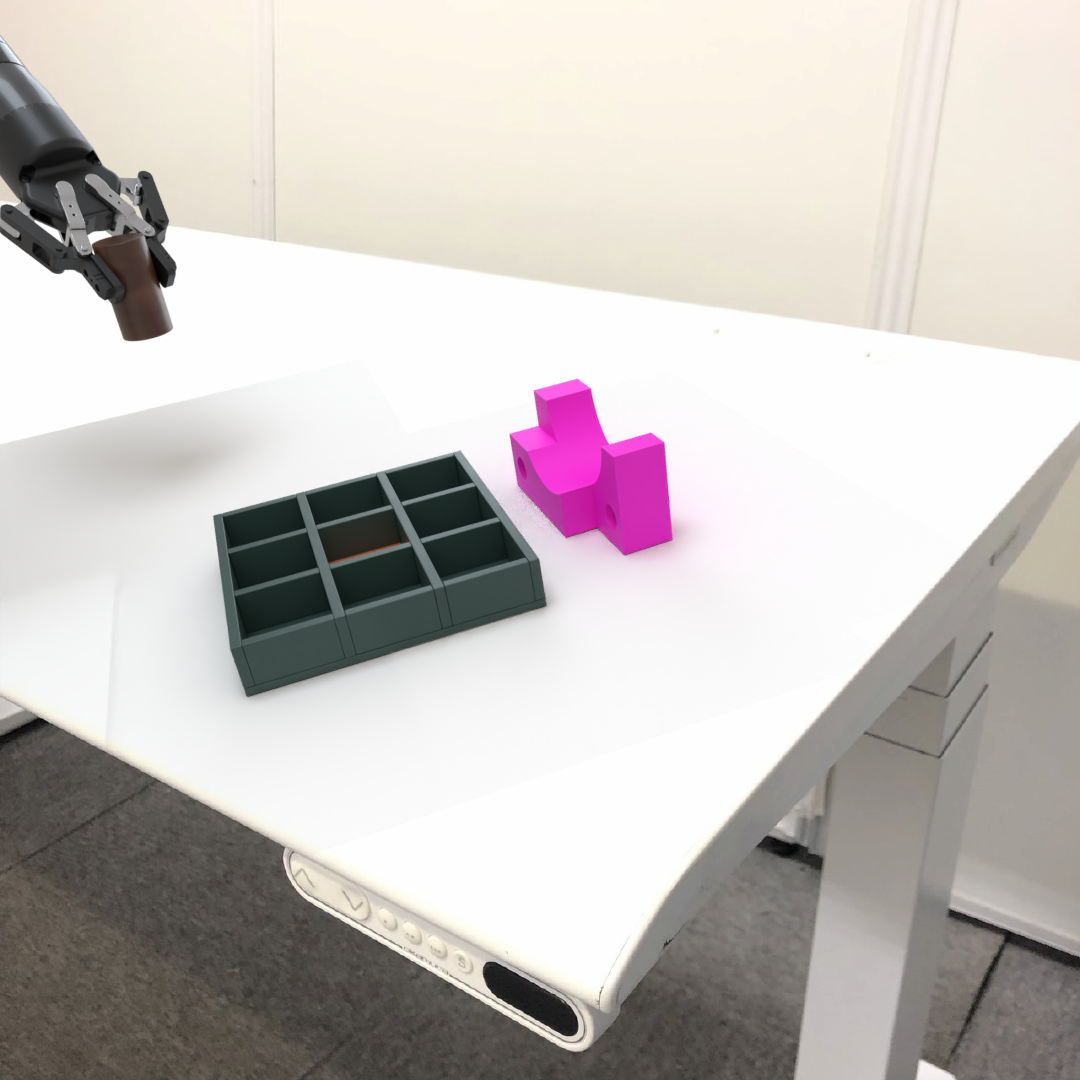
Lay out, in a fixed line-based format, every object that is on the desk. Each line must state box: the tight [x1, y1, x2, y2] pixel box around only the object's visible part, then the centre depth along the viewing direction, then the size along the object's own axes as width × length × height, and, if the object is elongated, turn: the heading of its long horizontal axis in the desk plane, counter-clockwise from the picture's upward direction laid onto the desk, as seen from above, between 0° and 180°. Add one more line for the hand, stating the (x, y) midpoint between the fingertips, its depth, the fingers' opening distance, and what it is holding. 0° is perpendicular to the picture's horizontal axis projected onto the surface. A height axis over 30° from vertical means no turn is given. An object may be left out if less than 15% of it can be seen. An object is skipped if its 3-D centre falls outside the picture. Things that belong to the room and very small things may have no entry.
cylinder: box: [91, 233, 174, 342], centre depth 86 cm, size 4×4×8 cm
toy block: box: [509, 378, 674, 555], centre depth 76 cm, size 15×6×8 cm, turn 21°
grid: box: [212, 450, 547, 697], centre depth 73 cm, size 20×20×4 cm
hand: (145, 288), depth 85 cm, fingers closed on cylinder, 4 cm apart
